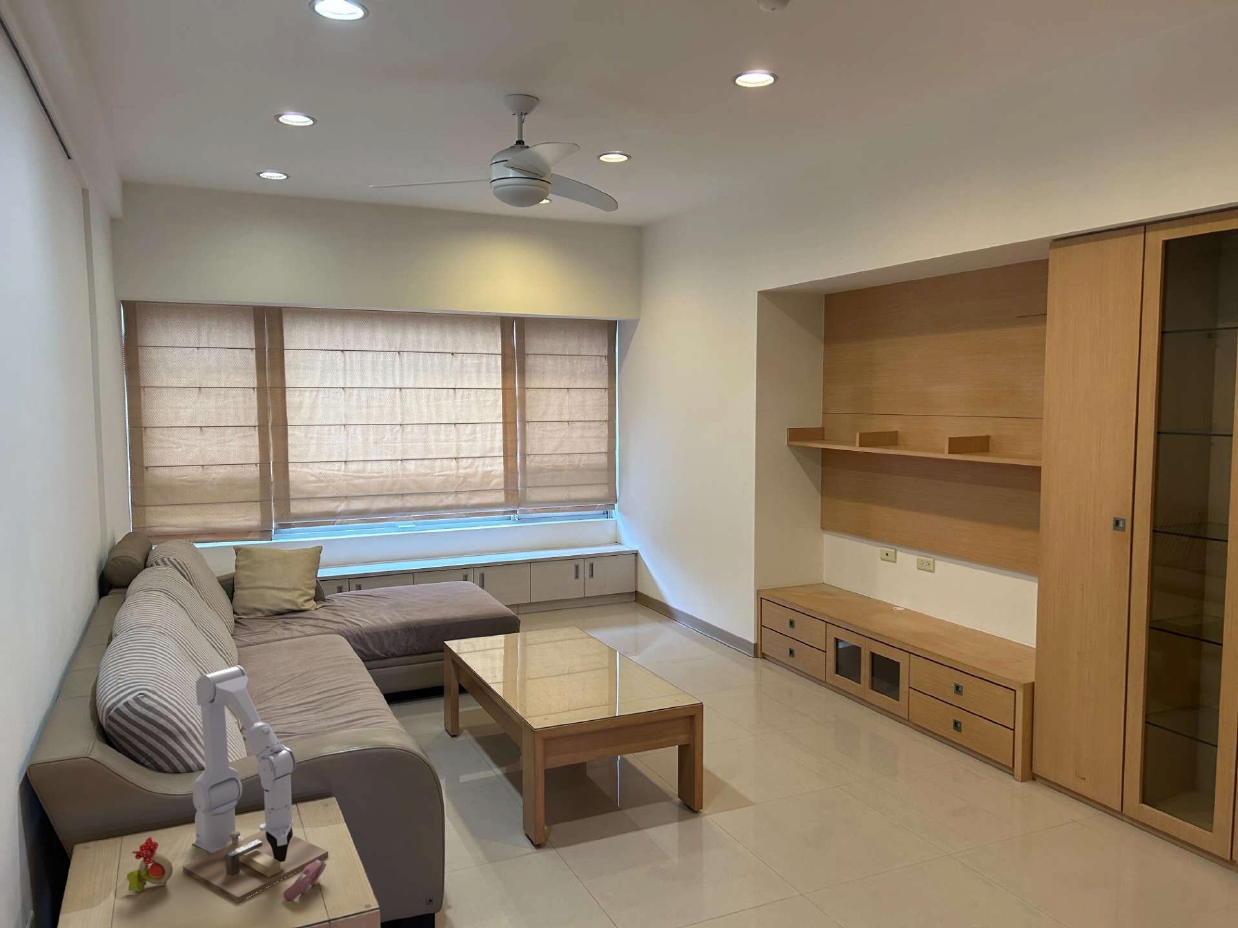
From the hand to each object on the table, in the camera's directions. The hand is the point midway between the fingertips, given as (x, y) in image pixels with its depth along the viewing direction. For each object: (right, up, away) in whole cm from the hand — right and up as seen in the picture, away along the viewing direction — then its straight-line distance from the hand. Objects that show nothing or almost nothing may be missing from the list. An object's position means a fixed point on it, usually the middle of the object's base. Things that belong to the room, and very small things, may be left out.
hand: (280, 861), depth 201 cm
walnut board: (-7, -2, +4) cm, 8 cm away
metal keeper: (-8, -1, 0) cm, 8 cm away
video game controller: (+8, -3, -7) cm, 11 cm away
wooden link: (-7, -1, +2) cm, 7 cm away
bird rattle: (-27, -3, -5) cm, 27 cm away
